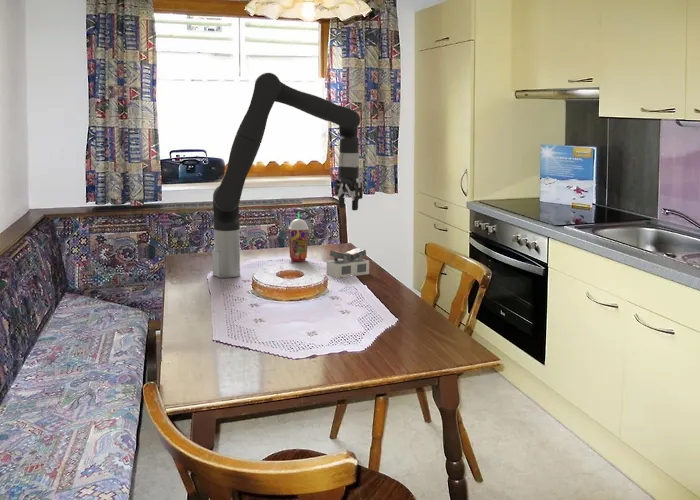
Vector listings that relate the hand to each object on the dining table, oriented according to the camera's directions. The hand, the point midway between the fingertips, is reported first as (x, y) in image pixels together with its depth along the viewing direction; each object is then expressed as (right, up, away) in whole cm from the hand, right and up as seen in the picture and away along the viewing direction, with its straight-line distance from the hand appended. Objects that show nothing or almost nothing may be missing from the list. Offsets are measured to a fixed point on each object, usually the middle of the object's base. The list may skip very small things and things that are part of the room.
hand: (348, 208), depth 254 cm
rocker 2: (+3, -17, +4) cm, 17 cm away
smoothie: (-20, -20, +25) cm, 38 cm away
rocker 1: (-3, -17, 0) cm, 18 cm away
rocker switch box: (0, -24, +3) cm, 25 cm away
